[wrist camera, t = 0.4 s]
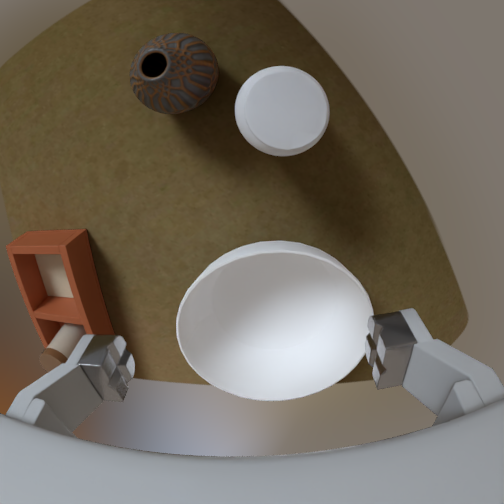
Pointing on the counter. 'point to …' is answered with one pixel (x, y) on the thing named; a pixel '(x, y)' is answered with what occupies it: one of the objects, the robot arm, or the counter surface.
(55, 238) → the divided tray
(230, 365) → the bowl
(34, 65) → the counter surface
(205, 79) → the vase
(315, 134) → the pill bottle
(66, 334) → the spice jar
